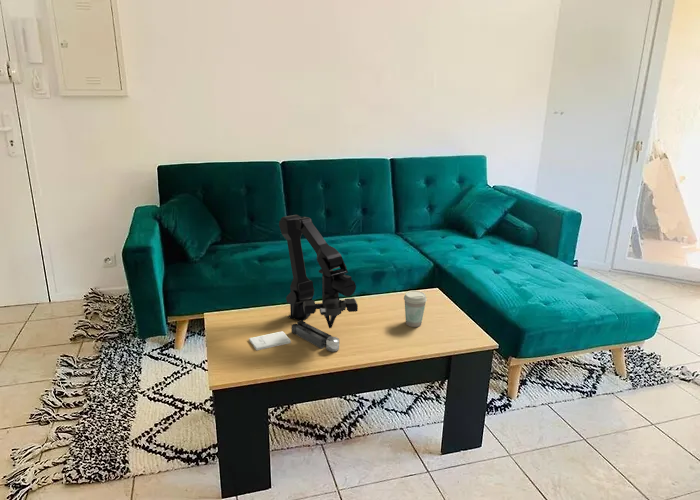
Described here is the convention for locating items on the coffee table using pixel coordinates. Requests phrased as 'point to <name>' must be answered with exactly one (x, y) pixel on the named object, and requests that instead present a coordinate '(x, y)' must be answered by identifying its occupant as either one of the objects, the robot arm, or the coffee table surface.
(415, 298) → the coffee cup
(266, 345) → the external hard drive
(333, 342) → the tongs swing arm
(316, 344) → the tongs fixed arm
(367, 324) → the coffee table surface
